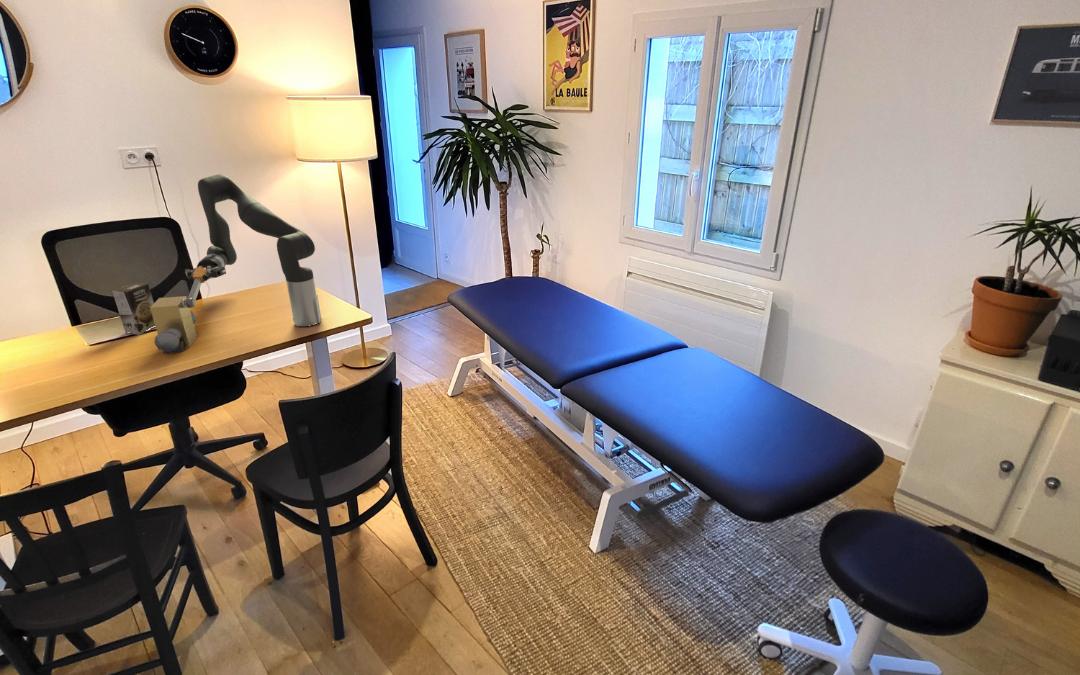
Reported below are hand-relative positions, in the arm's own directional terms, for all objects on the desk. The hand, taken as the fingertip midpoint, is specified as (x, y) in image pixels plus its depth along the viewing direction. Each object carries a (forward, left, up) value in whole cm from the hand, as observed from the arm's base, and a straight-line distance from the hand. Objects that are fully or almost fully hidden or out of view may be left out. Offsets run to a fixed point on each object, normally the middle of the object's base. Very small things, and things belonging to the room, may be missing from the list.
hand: (198, 278), depth 195 cm
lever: (0, +16, -4) cm, 16 cm away
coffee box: (+22, -2, -18) cm, 29 cm away
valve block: (+6, +14, -18) cm, 24 cm away
